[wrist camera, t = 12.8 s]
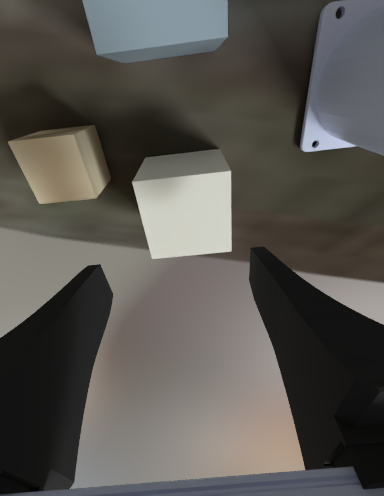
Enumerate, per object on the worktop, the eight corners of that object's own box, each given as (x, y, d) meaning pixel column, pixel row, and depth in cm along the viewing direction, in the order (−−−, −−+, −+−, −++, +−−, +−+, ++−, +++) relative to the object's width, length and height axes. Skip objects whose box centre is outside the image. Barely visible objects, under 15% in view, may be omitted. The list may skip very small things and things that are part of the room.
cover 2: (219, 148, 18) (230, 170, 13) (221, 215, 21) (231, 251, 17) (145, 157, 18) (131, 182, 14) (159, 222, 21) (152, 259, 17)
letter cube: (95, 124, 17) (73, 134, 14) (111, 178, 19) (96, 198, 16) (40, 130, 17) (5, 141, 14) (63, 183, 19) (38, 204, 16)
